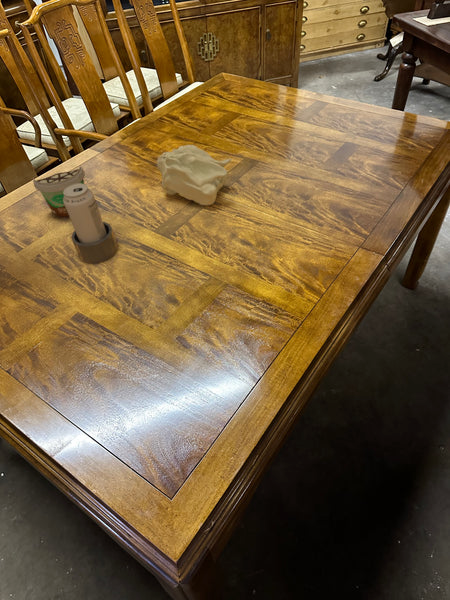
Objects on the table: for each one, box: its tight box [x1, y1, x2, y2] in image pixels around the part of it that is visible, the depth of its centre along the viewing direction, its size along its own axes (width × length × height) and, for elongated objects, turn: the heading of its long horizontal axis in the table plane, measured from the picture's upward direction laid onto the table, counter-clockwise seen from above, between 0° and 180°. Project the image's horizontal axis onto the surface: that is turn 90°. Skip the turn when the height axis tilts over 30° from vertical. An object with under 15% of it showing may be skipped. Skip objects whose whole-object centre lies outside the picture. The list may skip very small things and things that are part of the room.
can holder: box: [70, 221, 119, 264], centre depth 92 cm, size 9×9×5 cm
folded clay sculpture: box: [156, 144, 232, 206], centre depth 103 cm, size 18×13×16 cm
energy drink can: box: [63, 183, 107, 244], centre depth 88 cm, size 6×6×15 cm
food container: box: [32, 166, 86, 218], centre depth 102 cm, size 12×6×10 cm, turn 114°
